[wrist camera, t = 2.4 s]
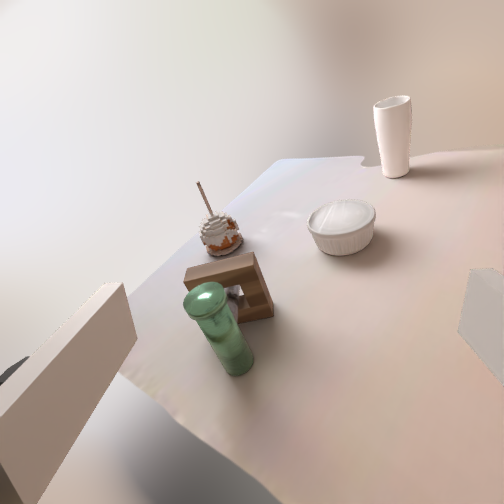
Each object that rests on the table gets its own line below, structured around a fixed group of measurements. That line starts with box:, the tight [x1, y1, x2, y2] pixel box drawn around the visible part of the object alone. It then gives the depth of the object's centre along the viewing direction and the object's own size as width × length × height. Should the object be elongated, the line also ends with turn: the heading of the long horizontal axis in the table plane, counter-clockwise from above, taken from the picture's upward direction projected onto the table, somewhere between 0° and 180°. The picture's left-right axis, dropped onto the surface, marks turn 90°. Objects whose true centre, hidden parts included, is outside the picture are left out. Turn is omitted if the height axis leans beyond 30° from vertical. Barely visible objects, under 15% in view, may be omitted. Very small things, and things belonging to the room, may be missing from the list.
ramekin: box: [307, 199, 376, 256], centre depth 55 cm, size 11×11×5 cm
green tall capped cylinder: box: [183, 282, 253, 376], centre depth 43 cm, size 15×5×12 cm, turn 0°
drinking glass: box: [374, 96, 412, 178], centre depth 66 cm, size 7×7×15 cm
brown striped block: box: [183, 252, 274, 324], centre depth 47 cm, size 3×10×10 cm, turn 90°
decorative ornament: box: [197, 181, 243, 256], centre depth 63 cm, size 8×8×15 cm
